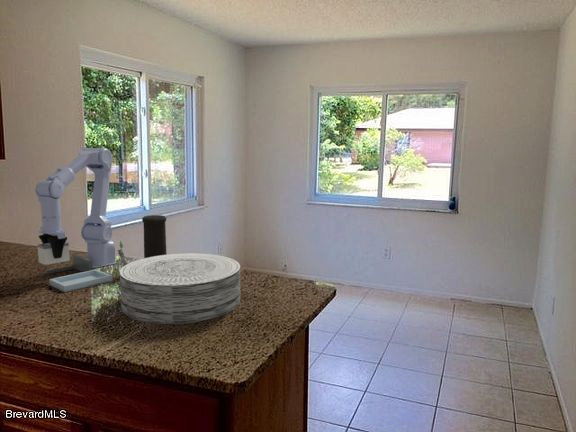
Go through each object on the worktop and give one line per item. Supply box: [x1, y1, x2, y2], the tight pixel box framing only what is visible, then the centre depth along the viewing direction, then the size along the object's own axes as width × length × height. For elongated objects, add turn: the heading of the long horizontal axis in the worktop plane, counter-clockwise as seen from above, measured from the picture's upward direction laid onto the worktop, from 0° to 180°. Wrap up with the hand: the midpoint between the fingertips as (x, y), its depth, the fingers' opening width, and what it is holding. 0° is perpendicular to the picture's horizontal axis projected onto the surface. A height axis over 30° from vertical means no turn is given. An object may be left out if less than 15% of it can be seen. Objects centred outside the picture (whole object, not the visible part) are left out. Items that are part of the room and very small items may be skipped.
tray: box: [48, 269, 113, 293], centre depth 156 cm, size 16×11×2 cm
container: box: [141, 214, 168, 259], centre depth 173 cm, size 9×9×20 cm
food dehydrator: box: [117, 240, 241, 325], centre depth 139 cm, size 38×34×18 cm
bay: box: [44, 254, 93, 275], centre depth 166 cm, size 11×13×5 cm
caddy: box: [37, 241, 71, 266], centre depth 157 cm, size 8×5×6 cm, turn 139°
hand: (54, 256), depth 157 cm, fingers closed on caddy, 5 cm apart
